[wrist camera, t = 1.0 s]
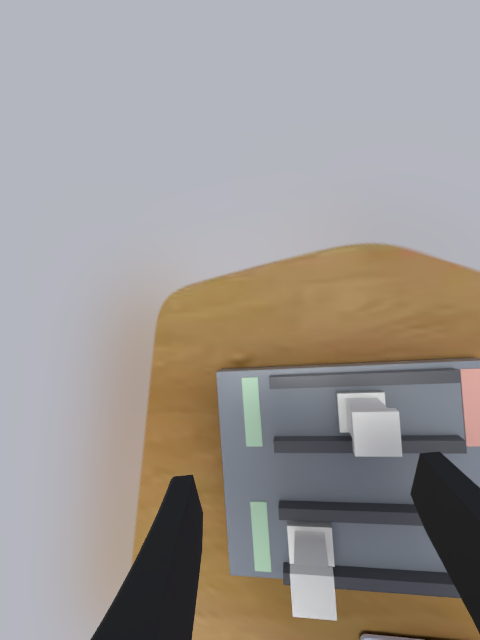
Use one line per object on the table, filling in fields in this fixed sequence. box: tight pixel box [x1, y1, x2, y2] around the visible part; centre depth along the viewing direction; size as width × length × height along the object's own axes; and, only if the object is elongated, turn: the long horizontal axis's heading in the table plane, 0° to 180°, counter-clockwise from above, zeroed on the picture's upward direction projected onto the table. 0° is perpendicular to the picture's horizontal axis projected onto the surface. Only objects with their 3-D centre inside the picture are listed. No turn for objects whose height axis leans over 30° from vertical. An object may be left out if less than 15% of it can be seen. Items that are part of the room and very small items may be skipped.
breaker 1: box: [287, 521, 337, 621], centre depth 20 cm, size 3×3×5 cm
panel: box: [216, 358, 480, 598], centre depth 22 cm, size 15×18×2 cm
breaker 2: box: [336, 391, 402, 457], centre depth 20 cm, size 3×3×5 cm
